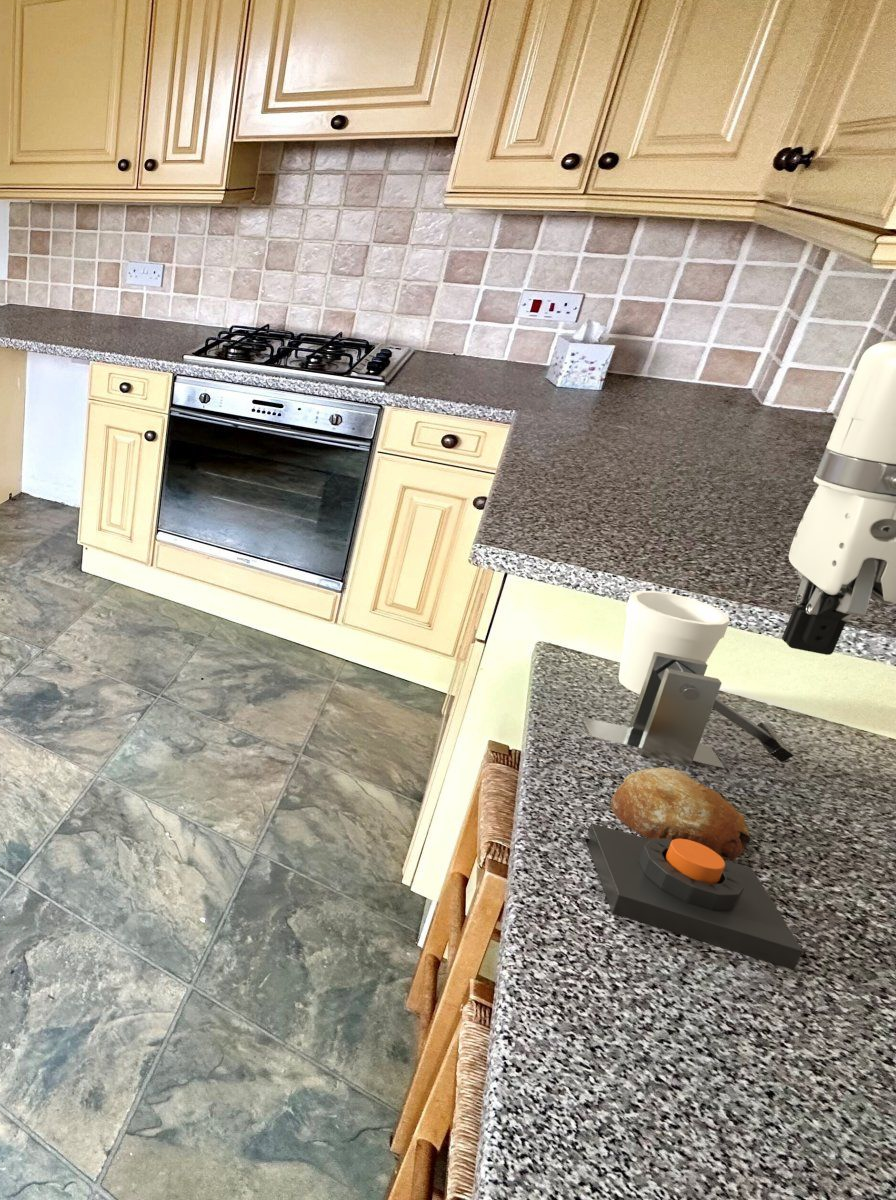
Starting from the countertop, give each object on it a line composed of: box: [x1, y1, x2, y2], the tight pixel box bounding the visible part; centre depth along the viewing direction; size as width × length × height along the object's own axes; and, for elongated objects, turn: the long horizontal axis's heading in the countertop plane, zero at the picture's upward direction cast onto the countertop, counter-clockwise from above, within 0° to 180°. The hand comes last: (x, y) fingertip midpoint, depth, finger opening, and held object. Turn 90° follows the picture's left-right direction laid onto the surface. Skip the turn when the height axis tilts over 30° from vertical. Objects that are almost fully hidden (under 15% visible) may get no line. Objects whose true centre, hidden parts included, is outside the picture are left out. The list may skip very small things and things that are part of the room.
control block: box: [584, 822, 804, 971], centre depth 71 cm, size 12×10×4 cm
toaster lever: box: [658, 662, 795, 763], centre depth 85 cm, size 12×5×2 cm, turn 60°
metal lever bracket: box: [580, 652, 726, 769], centre depth 88 cm, size 12×9×13 cm
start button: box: [665, 839, 725, 884], centre depth 70 cm, size 4×4×2 cm
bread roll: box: [610, 766, 752, 860], centre depth 79 cm, size 10×10×8 cm
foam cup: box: [618, 590, 731, 695], centre depth 101 cm, size 10×9×13 cm
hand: (805, 647), depth 78 cm, fingers closed
